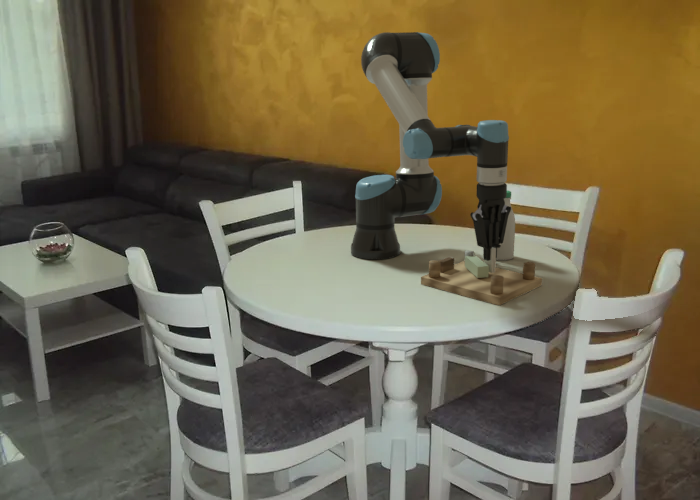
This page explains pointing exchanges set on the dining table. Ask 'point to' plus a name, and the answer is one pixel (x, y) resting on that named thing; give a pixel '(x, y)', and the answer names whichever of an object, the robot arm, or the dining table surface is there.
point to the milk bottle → (508, 234)
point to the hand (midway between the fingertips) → (489, 271)
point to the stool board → (481, 281)
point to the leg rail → (476, 265)
